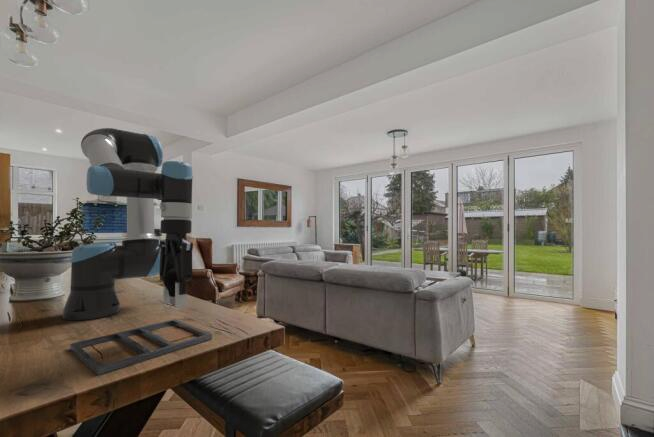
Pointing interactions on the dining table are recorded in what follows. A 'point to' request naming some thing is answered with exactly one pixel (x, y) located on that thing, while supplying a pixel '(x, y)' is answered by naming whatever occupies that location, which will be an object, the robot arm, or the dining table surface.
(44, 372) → the dining table surface
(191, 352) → the dining table surface
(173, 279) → the light bulb
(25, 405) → the dining table surface
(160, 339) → the gray divided frame
